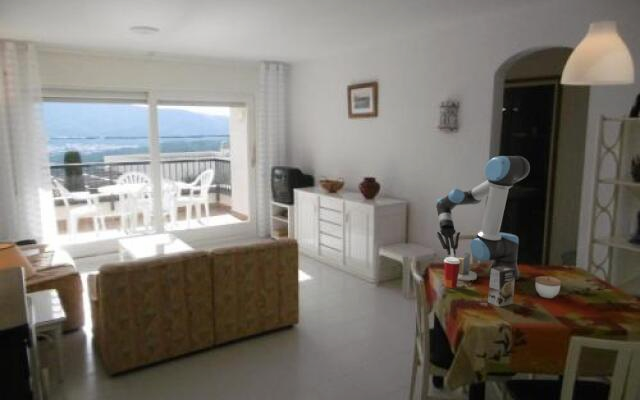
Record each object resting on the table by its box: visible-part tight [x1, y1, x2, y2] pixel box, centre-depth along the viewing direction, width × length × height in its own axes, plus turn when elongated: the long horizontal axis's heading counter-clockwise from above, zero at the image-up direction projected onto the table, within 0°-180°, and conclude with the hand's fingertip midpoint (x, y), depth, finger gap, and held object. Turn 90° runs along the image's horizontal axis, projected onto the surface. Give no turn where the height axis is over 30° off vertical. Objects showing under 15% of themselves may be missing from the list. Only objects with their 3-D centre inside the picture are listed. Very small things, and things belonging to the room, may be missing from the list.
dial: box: [457, 252, 471, 275], centre depth 237 cm, size 14×6×9 cm, turn 146°
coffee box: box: [487, 266, 516, 307], centre depth 201 cm, size 9×6×16 cm
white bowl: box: [534, 275, 562, 299], centre depth 211 cm, size 11×11×9 cm
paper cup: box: [443, 256, 460, 289], centre depth 222 cm, size 8×8×14 cm
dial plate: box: [457, 270, 478, 282], centre depth 238 cm, size 14×14×2 cm
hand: (452, 260), depth 239 cm, fingers closed
